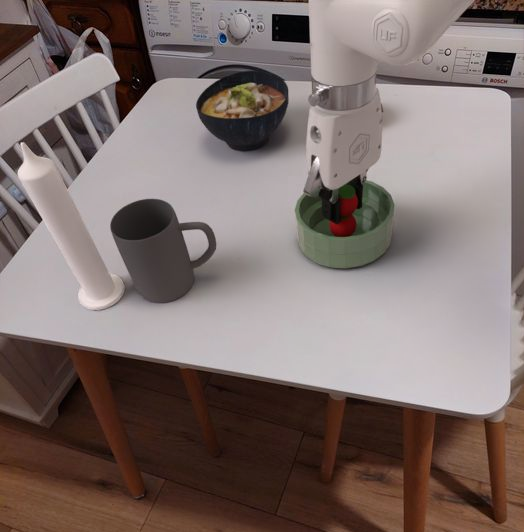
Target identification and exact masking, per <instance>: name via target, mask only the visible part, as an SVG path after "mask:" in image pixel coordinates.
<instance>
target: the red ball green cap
mask: <svg viewBox="0 0 524 532" xmlns="http://www.w3.org/2000/svg"><path fill="white" fill-rule="evenodd" d="M330 230H331V232H332V234H333V235H334V236H336V237H350V236H351V235H352V234H353V233H354V232H355V230H356V219H355V217H354V216H353V215H352V214H351V215H349V216H346V217H341V222H340V223H339V224H335V223H333V222H331V221H330Z"/></svg>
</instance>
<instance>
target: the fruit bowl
mask: <svg viewBox="0 0 524 532" xmlns="http://www.w3.org/2000/svg"><path fill="white" fill-rule="evenodd" d="M362 185H363V198H362V208H360V209H356V210H355V211H354V212H353V213H352V215H353V216H354V217H355V219H356V230H355V232H354V233H353V234H352V235H351V236H350V237H336V236H334V235H333V234H332V232H331V230H330V220H328V219H326V218H325V217H323V215H322V198H321V197H310V196H308V195H307V194H305V193H304V192H303V193H302V194H301V196H300V197H299V198H298V199H297V200H296V204H295V208H294V216H295V217H294V218H295V227H296V238H297V244H298V248H299V249H300V251H301V252H302V253H303V255H304V256H305V257H306V258H308V259H309V260H311V261H312V262H314V263H315V264H318V265H320V266H324V267H327V268H332V269H333V268H334V269H352V268H359V267H362V266H365V265H367V264H370V263H372V262H375V261H376V260H377V259H379V258H380V257H381V256H382V255H384V253H386V252H387V250H388V248H389V247H390V246H391V243H392V237H393V227H394V218H395V217H394V216H395V206H396V205H395V201H394V199H393V197H392V194H391V193H390V192H389V191H388V190H387V189H385V187H383V186H382V185H380V184H378V183H376V182H374V181H372V180H368V179H366V181H365V183H363V184H362ZM327 190H328V191H330V189H329V188H327Z"/></svg>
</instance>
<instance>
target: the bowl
mask: <svg viewBox="0 0 524 532" xmlns="http://www.w3.org/2000/svg"><path fill="white" fill-rule="evenodd" d="M289 99H290V98H289V86H288V84H287V82H286V81H285V80H284V79H283V78H281V76H279V75H277V74H276V73H272V72H269V71H262V70H244V71H243V70H242V71H237V72H233V73H230V74H228V75H226V76H223V77H221V78H219V79H217V80H216V81H214V82H213V83H211V84H210V85H209V86H207V87H206V88H205V89H204V90H203V91H202V92H201V94H199V96H198V97H197V100H196V102H195V108H196V112H197V115H198V119H199V120H200V121H201V123H202V124H203V126H204V127H205V129H206V130H208V132H209V133H210V134H212V135H213V136H214V137H216V138H217V139H218V140H220V141H222V142H224V143H225V144H226V145H227V146H228V147H229V148H230V149H231V150H234V151H238V152H248V151H254V150H257V149H259V148H261V147H264V146H265V145H266V144H268V142H269V141H270V138H271V136H272V134H273V133H274V132H275V131H277V129H278V127H279V126H280V125H281V123H282V121H283V119H284V118H285V116H286V113H287V109H288V107H289V104H290V103H289Z"/></svg>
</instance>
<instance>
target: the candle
mask: <svg viewBox="0 0 524 532" xmlns="http://www.w3.org/2000/svg"><path fill="white" fill-rule="evenodd" d="M20 148H21V152H22V156H23V161H22V164H21V165H20V167H19V168H18V170H17V177H18V179H19V181H20V183H21V185H22V186H23V188H24V191H26V193H27V195H28V196H29V198H30V200H31V202H32V203H33V205H34V207H35V209H36V210H37V212H38V214H39V216H40V217H41V219H42V221H43V223H44V224H45V226H46V228H47V230H48V231H49V233H50V235H51V237H52V238H53V240H54V242H55V244H56V246H57V247H58V249H59V251H60V252H61V254H62V256H63V257H64V259H65V261H66V263H67V265H68V267H69V268H70V270H71V272H72V274H73V276H74V277H75V279H76V280H77V282H78V284H79V285H80V288H79V290H78V294H77V299H78V301H79V303H80V305H81V306H82V307H83V308H85V309H87V310H91V311H100V310H105V309H108V308H110V307H112V306H113V305H115V304H116V303H118V302H119V301H120V299H121V298H122V297H123V296H124V293H125V289H126V288H125V283H124V281H123V279H122V278H121V277H120V276H119V275H116V274H112V273H110V272H109V270H108V268H107V266H106V264H105V262H104V260H103V258H102V256H101V254H100V252H99V250H98V248H97V246H96V244H95V242H94V240H93V238H92V236H91V233H90V232H89V230H88V228H87V226H86V224H85V221H84V220H83V218H82V216H81V214H80V212H79V209H78V208H77V205H76V203H75V202H74V199H73V197H72V195H71V194H70V191H69V189H68V187H67V186H66V185H67V184H66V183H65V181H64V179H63V177H62V175H61V173H60V171H59V169H58V167H57V164H56V163H55V162H54V161H53V160H52V159H51V158H48V157H45V156H39V155H36V154H35V153H34V152H33V151H32V150H31V149H30V147H29V146H28V145H27V143H26V142H20Z"/></svg>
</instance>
